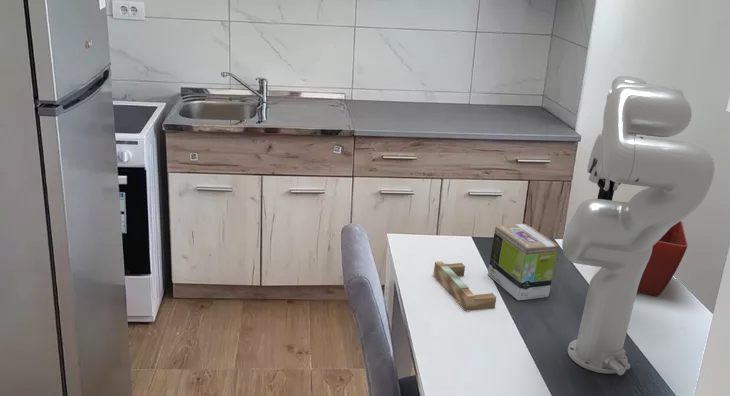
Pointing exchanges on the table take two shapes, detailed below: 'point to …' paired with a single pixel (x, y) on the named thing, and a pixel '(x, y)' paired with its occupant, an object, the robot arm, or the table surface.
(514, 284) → the tea box
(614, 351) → the robot arm
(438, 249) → the table surface
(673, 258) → the plant pot
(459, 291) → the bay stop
